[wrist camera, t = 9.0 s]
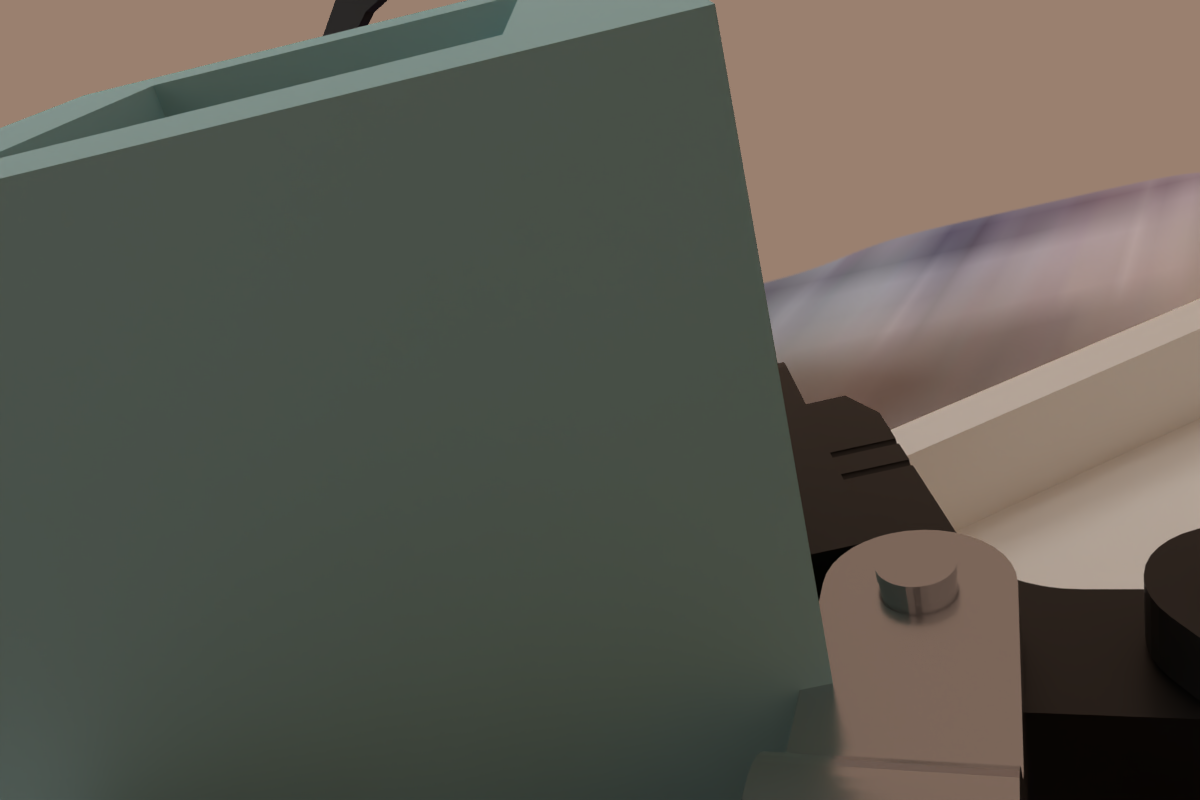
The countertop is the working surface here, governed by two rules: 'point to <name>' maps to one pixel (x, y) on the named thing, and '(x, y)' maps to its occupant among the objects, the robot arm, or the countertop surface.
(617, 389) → the sleeve
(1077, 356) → the tray
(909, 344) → the countertop surface
